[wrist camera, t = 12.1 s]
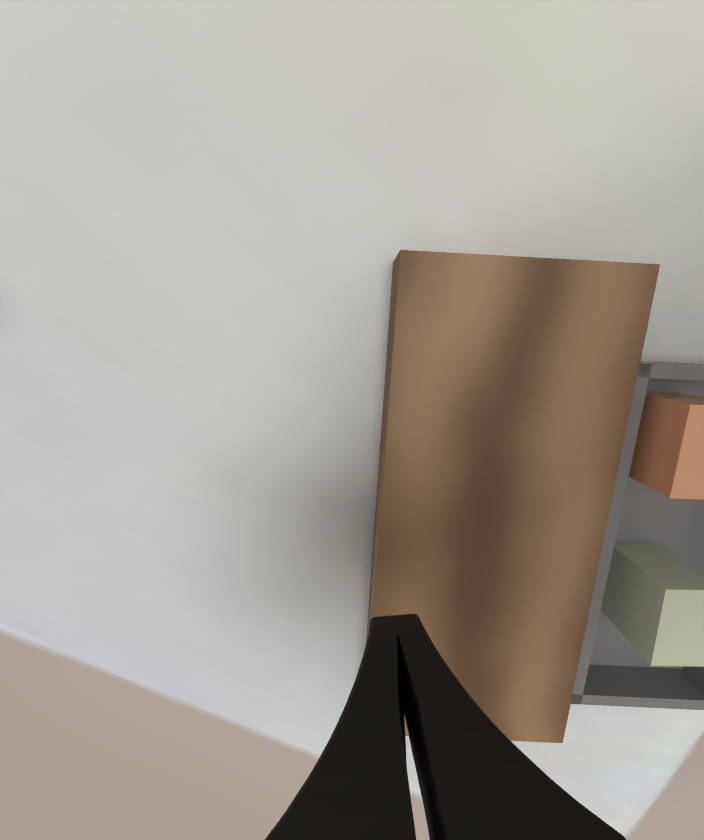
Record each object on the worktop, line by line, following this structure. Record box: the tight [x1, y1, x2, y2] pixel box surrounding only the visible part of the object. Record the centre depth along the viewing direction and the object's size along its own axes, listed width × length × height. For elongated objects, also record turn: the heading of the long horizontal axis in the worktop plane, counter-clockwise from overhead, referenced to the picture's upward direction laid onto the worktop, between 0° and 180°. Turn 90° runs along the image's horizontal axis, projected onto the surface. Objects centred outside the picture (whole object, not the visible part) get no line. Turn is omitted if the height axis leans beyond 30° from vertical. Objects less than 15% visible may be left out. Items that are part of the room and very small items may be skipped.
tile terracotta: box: [629, 391, 704, 500], centre depth 19 cm, size 4×4×2 cm
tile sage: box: [601, 543, 704, 667], centre depth 20 cm, size 4×4×2 cm
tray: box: [571, 362, 704, 710], centre depth 21 cm, size 8×18×2 cm, turn 177°
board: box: [366, 250, 660, 743], centre depth 20 cm, size 10×24×3 cm, turn 177°
